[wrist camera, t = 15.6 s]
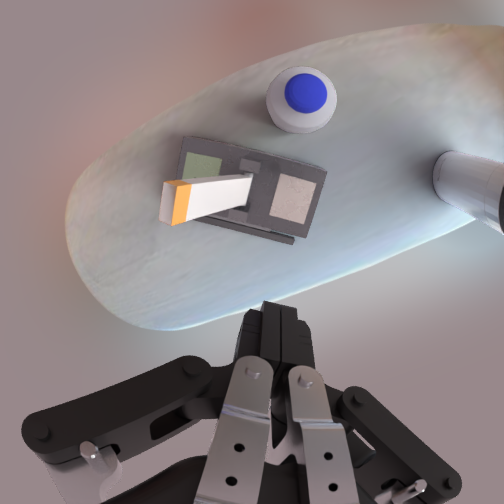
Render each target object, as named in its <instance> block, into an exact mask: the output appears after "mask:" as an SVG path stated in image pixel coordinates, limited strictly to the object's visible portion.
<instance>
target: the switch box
mask: <svg viewBox="0 0 504 504" xmlns="http://www.w3.org/2000/svg"><path fill="white" fill-rule="evenodd" d="M244 172H250V173H253V178H252V182H251V186H250V190H249V194H248V198H247V202H246V206H237V207H233V208H230V209H226V210H222V211H219V212H215V213H212V214H213V215H217V216H222V217H226V218H228V219H231V220H235V221H239V222H243V223H249V224H253V225H257V226H261V227H265V228H269V229H273V230H276V231H280V232H284V233H288V234H291V235H295V236H299V237H303V238H306V237H307V234H308V231H309V228H310V225H311V222H312V219H313V216H314V213H315V210H316V206H317V203H318V200H319V197H320V194H321V191H322V187H323V184H324V181H325V177H326V174H327V171H325V170H324V169H322V168H320V167H316V166H313V165H310V164H306V163H303V162H300V161H296V160H293V159H289V158H285V157H282V156H278V155H274V154H270V153H266V152H262V151H258V150H254V149H250V148H246V147H241V146H237V145H232V144H228V143H223V142H218V141H213V140H208V139H203V138H197V137H184V138H183V143H182V148H181V153H180V158H179V164H178V169H177V175H176V180H183V179H192V178H202V177H212V176H224V175H237V174H242V175H244Z"/></svg>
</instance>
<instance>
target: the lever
mask: <svg viewBox="0 0 504 504" xmlns="http://www.w3.org/2000/svg"><path fill="white" fill-rule="evenodd" d="M252 178H253V173H250V172H244V175H242V174H237V175H224V176H212V177H202V178H192V179H183V180H172V181H164V183H163V190H162V197H161V204H160V212H159V221H161V222H164V223H166V224H168V225H170V226H173V225H176V224H180V223H183V222H186V221H188V220H192V219H195V218H198V217H202V216H205V215H209V214H212V213H215V212H219V211H222V210H226V209H230V208H233V207H237V206H246V202H247V198H248V194H249V190H250V186H251V182H252Z"/></svg>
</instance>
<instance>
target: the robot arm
mask: <svg viewBox="0 0 504 504" xmlns="http://www.w3.org/2000/svg"><path fill="white" fill-rule="evenodd" d="M433 185H434V188H435V191H436V193H437V195H438V196H439V197H440V198H441V199H442V200H443V201H445V202H447V203H449V204H451V205H453V206H455V207H456V208H458V209H460V210H462V211H464V212H465V213H467V214H469V215H471V216H473V217H474V218H476V219H478V220H480V221H481V222H483V223H485V224H486V225H488V226H490V227H491V228H493V229H495V230H496V231H498V232H500V233H501V234H503V235H504V163H501V162H497V161H493V160H490V159H486V158H482V157H477V156H473V155H469V154H464V153H459V152H454V151H449V152H445V153H444V154H442V155H441V156H440V157H439V158H438V160H437V161H436V164H435V166H434V170H433ZM270 399H271V406H270V408H269V401H270ZM268 408H269V410H268ZM201 419H218V420H217V424H216V427H215V430H214V433H213V437H212V440H211V443H210V446H209V449H208V453H207V455H203V456H195V457H190V458H187V459H184V460H181V461H179V462H177V463H175V464H173V465H171V466H170V467H168V468H167V469H165V470H163V471H162V472H160V473H158V474H157V475H155V476H153V477H151V478H149V479H148V480H146V481H144V482H142V483H140V484H139V485H137V486H135V487H133V488H131V489H129V490H127V491H125V492H123V493H121V494H119V495H117V496H115V497H113V498H111V499H109V500H107V494H108V491H109V490H110V488H111V487H113V486H114V485H115V484H117V483H118V482H119V481H120V480H121V478H122V474H123V469H122V466H121V462H123V461H125V460H127V459H129V458H132V457H134V456H136V455H138V454H140V453H142V452H144V451H146V450H148V449H150V448H152V447H154V446H156V445H158V444H160V443H162V442H164V441H166V440H167V439H169V438H171V437H173V436H175V435H176V434H178V433H180V432H182V431H184V430H185V429H187V428H189V427H191V426H192V425H194V424H196V423H197V422H199V421H200V420H201ZM354 429H355V430H356V431H357V432H358V433H359V434H360V435H361V436H362V437H363V438H364V439H365V440H366V441H367V442H368V443H369V444H370V445H372V446H373V447H374V449H375V450H372V449H370V448H369V447H368V446H367V445H366V444H365V443H364V442H363V441H362V440H361V439H360V438H359V437H358V436H357V435H356V434H355V433H354V432H353V430H354ZM21 430H22V431H21V432H22V437H23V439H24V441H25V443H26V444H27V446H28V447H29V448H30V449H31V450H32V451H33V452H34V453H35V454H36V455H37V457H38V458H39V459H41V460H42V461H43V463H44V464H45V466H46V468H47V470H48V472H49V474H50V476H51V478H52V479H53V481H54V483H55V485H56V487H57V489H58V490H59V492H60V494H61V496H62V497H63V499H64V501H65V502H66V504H443V503H445V502H447V501H449V500H450V499H452V498H454V497H456V496H457V495H458V494H459V493H460V491H461V487H462V480H461V477H460V475H459V474H458V473H457V472H456V471H455V470H454V469H453V468H452V467H451V466H449V465H448V464H447V463H446V462H445V461H444V460H443V459H441V458H440V457H439V456H438V455H437V454H436V453H435V452H434V451H432V450H431V449H430V448H429V447H428V446H427V445H425V444H424V442H422V441H421V440H420V439H419V438H418V437H417V436H416V435H415V434H414V433H412V432H411V431H410V430H409V429H408V428H407V427H406V426H405V425H404V424H403V423H401V422H400V421H399V420H398V419H397V418H396V417H395V416H394V415H393V414H392V413H391V412H390V411H389V410H387V409H386V408H385V407H384V406H383V405H382V404H381V403H380V402H379V401H378V400H377V399H376V398H374V397H373V396H372V395H371V394H370V393H369V392H368V391H367V390H365V389H363V388H361V387H357V386H352V387H348V388H347V389H346V390H345V391H344V392H342V391H340V390H337V389H334V388H332V387H330V386H327V385H326V384H325V383H324V380H323V378H322V376H321V374H320V373H319V372H318V371H316V370H315V362H314V354H313V346H312V340H311V331H310V328H309V327H308V325H307V324H306V322H305V321H302V320H298V317H297V309H296V308H294V307H289V306H285V305H280V304H276V303H272V302H268V301H263V304H262V307H261V310H260V311H258V310H253V309H250V310H249V311H248V312H247V313H246V314H245V315H244V318H243V322H242V325H241V328H240V332H239V335H238V338H237V344H236V349H235V355H234V359H233V362H232V363H231V364H229V365H226V366H222V367H211V366H210V365H209V363H208V362H206V361H205V360H204V359H202V358H200V357H197V356H190V355H189V356H182V357H179V358H177V359H175V360H173V361H170V362H168V363H166V364H164V365H162V366H160V367H157V368H154V369H152V370H150V371H147V372H145V373H143V374H140V375H138V376H135V377H133V378H130V379H128V380H126V381H123V382H120V383H118V384H115V385H113V386H110V387H108V388H105V389H103V390H100V391H97V392H94V393H92V394H89V395H87V396H84V397H80V398H78V399H75V400H72V401H69V402H66V403H63V404H60V405H57V406H55V407H51V408H48V409H45V410H41V411H38V412H35V413H32V414H30V415H29V416H27V417H26V419H25V420H24V421H23V424H22V429H21ZM267 442H268V455H267V458H266V462H265V455H266V449H267Z"/></svg>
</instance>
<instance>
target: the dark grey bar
mask: <svg viewBox="0 0 504 504" xmlns="http://www.w3.org/2000/svg"><path fill="white" fill-rule="evenodd" d="M192 220H196V221H200V222H204V223H208V224H212V225H216V226H220V227H224V228H228V229H232V230H236V231H240V232H244V233H248V234H252V235H255V236H259V237H263V238H267V239H271V240H275V241H279V242H282V243H286V244H290V245H293V243H294V240H295V239H294V237H291V236H287V235H283V234H280V233H276V232H272V231H270V230H271V229H269V228H265V227H261V226H257V225H253V224H249V223H243V222H239V221H235V220H231V219H228V218H226V217H222V216H217V215H213V214H209V215H205V216H202V217H198V218H195V219H192Z"/></svg>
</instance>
